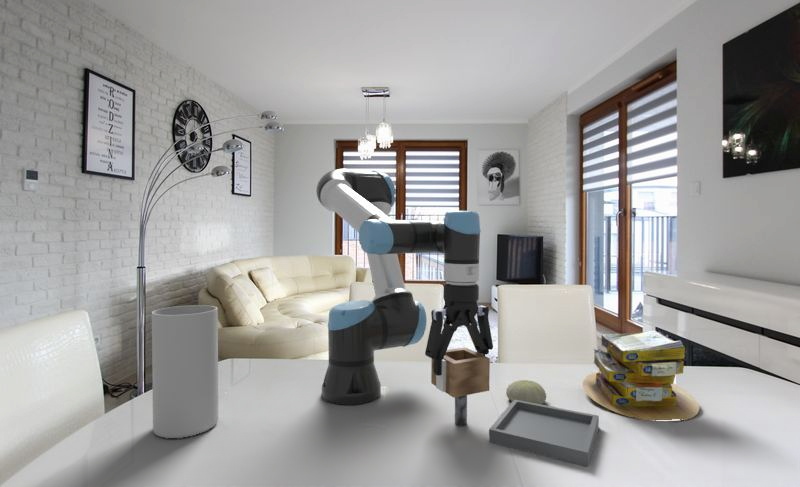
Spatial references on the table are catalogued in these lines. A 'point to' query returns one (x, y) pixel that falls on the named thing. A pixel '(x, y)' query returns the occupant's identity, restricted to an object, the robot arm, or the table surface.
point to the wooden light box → (465, 372)
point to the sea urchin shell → (526, 392)
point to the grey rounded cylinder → (461, 410)
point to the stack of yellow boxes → (641, 377)
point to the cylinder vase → (184, 370)
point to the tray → (546, 431)
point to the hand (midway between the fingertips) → (459, 385)
